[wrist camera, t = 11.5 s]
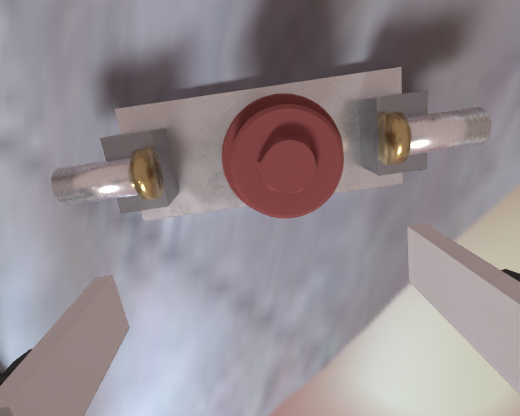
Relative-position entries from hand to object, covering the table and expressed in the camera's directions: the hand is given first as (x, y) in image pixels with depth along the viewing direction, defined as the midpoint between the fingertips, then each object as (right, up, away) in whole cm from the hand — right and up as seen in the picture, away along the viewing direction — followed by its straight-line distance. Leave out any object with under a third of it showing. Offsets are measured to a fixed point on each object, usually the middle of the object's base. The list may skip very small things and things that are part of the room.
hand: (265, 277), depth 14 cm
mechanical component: (+1, +10, +20) cm, 22 cm away
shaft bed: (0, +10, +21) cm, 23 cm away
